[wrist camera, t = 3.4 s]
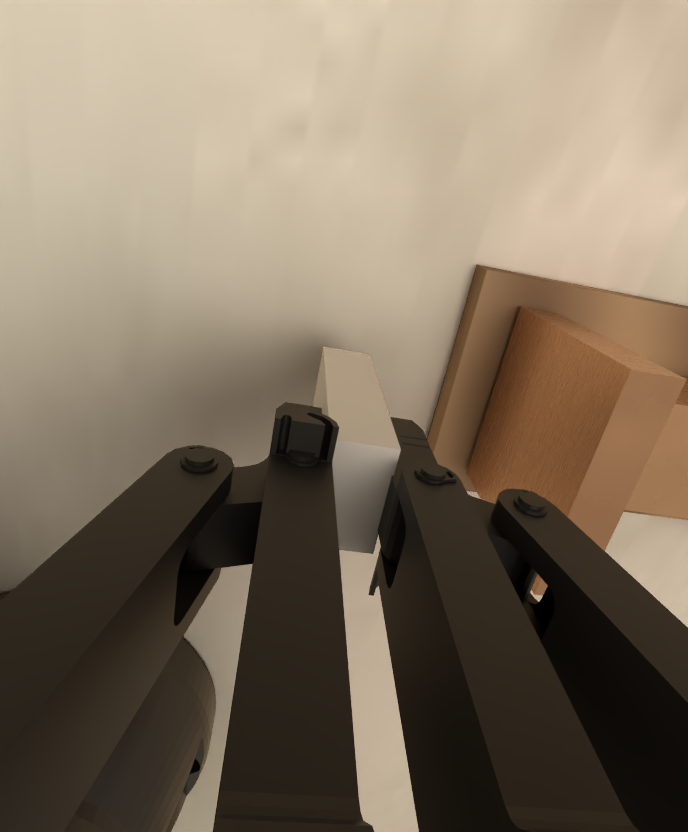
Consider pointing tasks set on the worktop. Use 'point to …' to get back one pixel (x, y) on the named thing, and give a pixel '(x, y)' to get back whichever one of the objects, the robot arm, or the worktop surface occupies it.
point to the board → (491, 331)
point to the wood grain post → (583, 428)
